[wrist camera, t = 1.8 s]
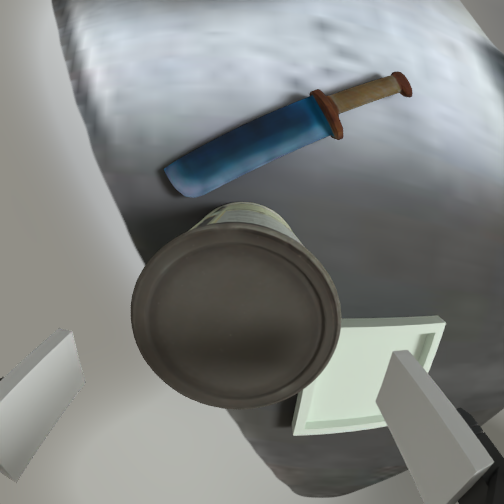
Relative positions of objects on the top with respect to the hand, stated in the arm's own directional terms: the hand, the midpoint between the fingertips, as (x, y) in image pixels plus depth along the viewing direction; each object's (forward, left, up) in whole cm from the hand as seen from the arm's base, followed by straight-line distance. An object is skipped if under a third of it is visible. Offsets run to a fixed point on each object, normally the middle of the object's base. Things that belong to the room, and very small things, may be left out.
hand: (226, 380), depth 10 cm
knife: (-12, +4, -17) cm, 22 cm away
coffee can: (0, 0, -17) cm, 17 cm away
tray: (+14, +15, -17) cm, 27 cm away
